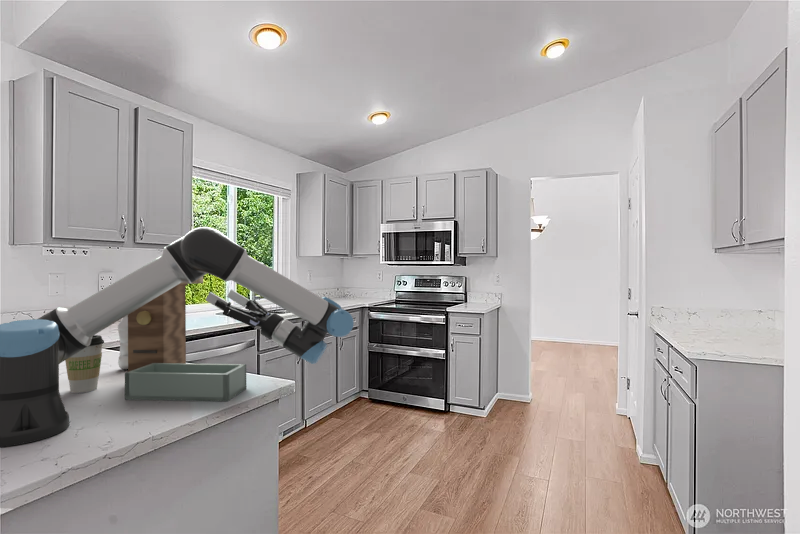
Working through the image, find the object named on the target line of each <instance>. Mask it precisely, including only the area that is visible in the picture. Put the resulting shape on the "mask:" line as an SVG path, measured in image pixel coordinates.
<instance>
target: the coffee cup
mask: <svg viewBox="0 0 800 534" xmlns="http://www.w3.org/2000/svg"><path fill="white" fill-rule="evenodd" d="M104 344H105V341H104V339H103V337H102V335H100V334H99V335H98V334H95V335H94V336H93V337H92V339H91V343H90V345H89V346H87V347H86V348H84V349H83V350H81V351H79V352H78V353H76V354H74V355H73V356H71V357H70V358H68V359H66V360H65V361H64V362H65V368H66V373H67V380H68V383H69V392H70V393H73V394H82V393H89V392H93V391H95V390H97V389H98V381H99V376H100V371H101V365H102V364H101V363H102V357H103V352H102V350H103V345H104Z"/></svg>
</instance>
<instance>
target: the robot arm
mask: <svg viewBox="0 0 800 534" xmlns="http://www.w3.org/2000/svg"><path fill="white" fill-rule="evenodd" d="M207 274H209V275H211V276H213V277H216V278H217V279H220V280H222V281H224V282H229V281H231V282H234V283H235V284H238V285H240V286H241V287H243V288H245V289H246V290H249V291H250V292H253V293H254V294H256V295H258V296H260V297H262V298H264V299H266V301H267V300H268V301H269V302H271V303H273V304H275V305H276V306H278V307H280V308H281V309H284V311H285V310H286V311H287V312H289V313H292V314H293V315H295V316H296V317H299V318H300V319H302V320H304V321H305V322H304V324H303V325H302V327H300V326H298V325H296V324H295V323H294V322H291V321H290V320H288V319H284V318H285V317H282V316H281V315H279V314H277V313H276V312H273V313H271V312H270V311H268V310H267V309H266V308H265V307H264V306H263V305H262V304H261V303H259V302H258V301H257V300H254V299H253V300H251V299H249V298H247V297H245V296H244V295H242V294H240V293H238V292H237V291H235V290H233V289H230V290H229V292H228V294H227V296H226V297H227V298H228V299H230V300H231V301H233V302H235V303H237V304H239V306H241V307H243V308H241V307H238V306H235V305H232V302H231V301H227V300H225V299H224V298H223V297H220V296H219V295H217V294H216V293H214V292H212V291H210V292H209V293H208V295H207V297H206V298H205V301H207V302H208V303H209V304H211V305H213V306H215V307H216V308H217V309H220V310H221V311H223V312H222V315H223V316H226V317H229V318H231V319H233V320H236V321H238V322H240V323H243V324H245V325H247V326H249V327H251V328H253V329H255V328H256V327H260V334H261V335H262V336H263V337H265V338H267V339H269V340H272V342H274V343H276V344H277V346H278V347H279V348H281V347H282V348H283V349H285V350H288V351H289V352H290V353H292V354H294V355H295V356H297V357H298V358H300V359H301V360H304V361H306V362H308V363H309V364H312V365H314V364H315V365H316V364H317V363H318V362H319V361H320V360H321V358H322V356H323V354H324V353H325V351H326V350H327V346H328V345H327V342H326V341H324V340H325V337H326V336H327V335H328V334H329V335H331V336H333V337H335V338H342V337H346V336H348V335H350V334H351V332H352V330H353V328H354V325H355V324H354V317H353V315H352V314H351V313H350V312H349V311H347V310H345V309H344V308H342V306H341V305H340V304H339V303H337V302H336V301H334V300H332V299H331V298H329V297H326V296H323V297H321V296H319V295H317V294H315V293H314V292H312V291H310V290H308V289H307V288H306V287H304V286H302V285H300V284H299V283H296V282H294V281H293V280H291V279H290V278H288V277H286V275H285V276H284V275H283V274H281V273H280V272H277V271H276V270H274V269H272V268H270V267H269V266H267V265H266V264H264V263H263V262H261V261H258V260H257V259H255V258H253V257H252V256H250V255H248V252H247V249H246V248H244V247H243V246H241V245H239V244H237V243H236V242H235V241H233V240H231V238H229V237H227V236H226V235H225V234H223V233H222V232H221V231H220V230H218V229H215V228H213V227H209V226H200V227H195V228H193V229H191V230H190V231H188V232H187V233H186V234H185V235H183V236H182V237H180V238H178V239H176V240H175V241H173V242H171V243H169V244H168V245H166V246H164V247H163V250H162V254H161V255H160V256H159V257H157V258H155V259H153V260H152V261H150V262H149V263H147V264H145V265H142V266H141V267H139V268H137V269H135V270H134V271H132V272H130V273H128V274H127V275H126V276H124V277H122V278H120V279H119V280H117V281H115V282H113V283H112V284H110V285H108V286H106V287H104V288H102V289H100V290H99V291H97V292H95V293H94V294H92V295H90V296H89V297H87V298H85V299H83V300H81V301H80V302H78V303H76V304H74V305H73V306H71V307H68V308H67V307H62V306H61V307H59V306H58V307H56V308H54V309H52V310H50V311H49V312H47V313H45V314H44V315H42V316H40V317H38V318H36V319H35V318H34V319H21V320H13V321H10V322H9V321H8V322H3V323H0V448H3V447H10V446H18V445H23V444H28V443H32V442H36V441H40V440H45V439H46V438H50V437H53V436H56V435H57V434H59V433H62V432H64V431H65V430H67V429H68V428H69V426H70V414H69V413H68V411H67V410H66V408H65V404H64V402H63V399H62V395H61V393H60V364H61V363H63V362H65V360H66V359H68V358H70V357H71V356H73V355H74V354H76V353H78V352H79V351H81V350H83V349H84V348H86V347H87V346H89V345H90V343H91V339H92V337H93V336H94V335H98V334H99V333H100V332H102V331H104V330H105V329H107V328H109V327H111V326H112V325H113V324H115V323H117V322H118V321H121V320H122V319H123V317H125V316H127V315H128V314H130V313H132V312H133V311H135V310H137V309H138V308H140V307H142V306H143V305H145V304H147V303H148V302H150V301H152V300H153V299H155V298H157V297H158V296H160V295H162V294H163V293H165V292H166V291H168V290H170V289H171V288H173V287H175V286H176V285H178V284H180V283H182V282H184V283H190V284H191V283H192V282H194V281H196V280H197V279H199V278H201V277H202V276H203V277H204V276H206V275H207ZM191 285H192V284H191Z"/></svg>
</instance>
